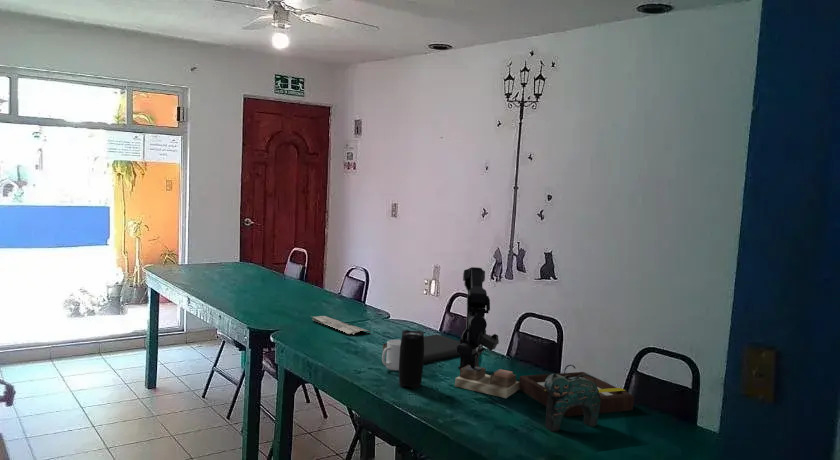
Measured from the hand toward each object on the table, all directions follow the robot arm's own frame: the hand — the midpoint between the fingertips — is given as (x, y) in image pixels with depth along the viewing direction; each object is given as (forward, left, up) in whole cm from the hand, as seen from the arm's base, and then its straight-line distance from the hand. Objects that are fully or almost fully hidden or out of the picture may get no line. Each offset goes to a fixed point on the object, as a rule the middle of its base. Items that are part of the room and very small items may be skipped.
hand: (473, 368), depth 237 cm
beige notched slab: (-90, +38, -7) cm, 98 cm away
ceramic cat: (+42, -18, -6) cm, 46 cm away
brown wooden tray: (+35, +9, -7) cm, 37 cm away
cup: (-33, -2, -6) cm, 34 cm away
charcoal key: (0, 0, -3) cm, 3 cm away
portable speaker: (-17, -16, -6) cm, 24 cm away
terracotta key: (+12, 0, -2) cm, 12 cm away
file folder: (-34, +29, -7) cm, 45 cm away
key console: (+6, 0, -6) cm, 9 cm away
